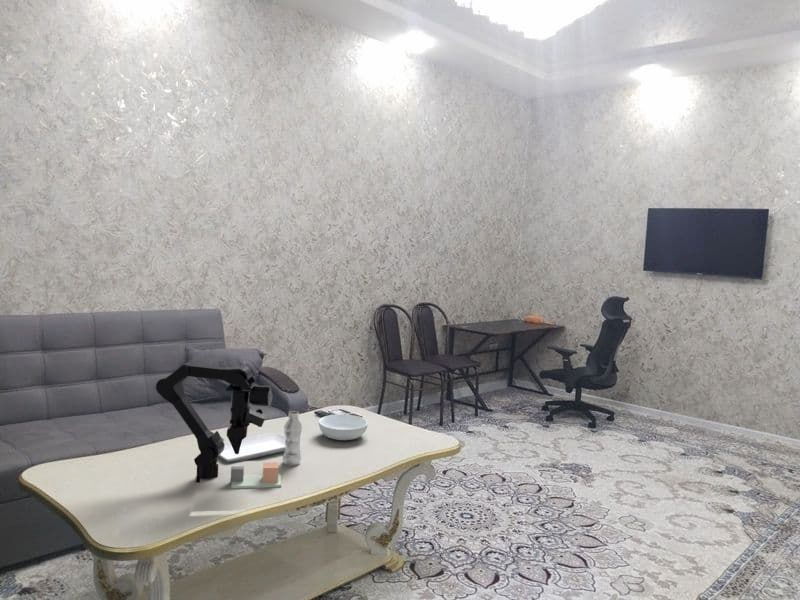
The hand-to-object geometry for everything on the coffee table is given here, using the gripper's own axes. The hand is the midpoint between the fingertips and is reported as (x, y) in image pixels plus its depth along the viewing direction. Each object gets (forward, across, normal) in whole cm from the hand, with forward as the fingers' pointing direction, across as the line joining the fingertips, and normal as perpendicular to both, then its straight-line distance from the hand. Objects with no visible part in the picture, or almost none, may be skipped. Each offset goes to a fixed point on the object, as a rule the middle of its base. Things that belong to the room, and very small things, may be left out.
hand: (238, 449), depth 205 cm
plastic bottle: (+11, +14, -18) cm, 25 cm away
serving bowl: (+11, +47, -39) cm, 62 cm away
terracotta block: (+9, -4, -11) cm, 15 cm away
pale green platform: (+10, -4, -7) cm, 13 cm away
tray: (+12, +29, -4) cm, 31 cm away
